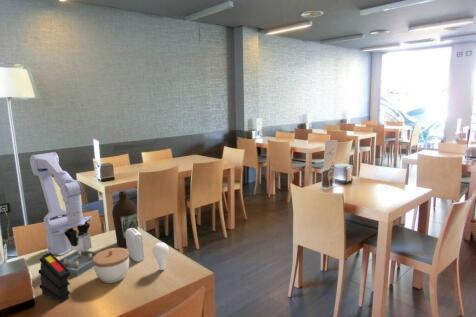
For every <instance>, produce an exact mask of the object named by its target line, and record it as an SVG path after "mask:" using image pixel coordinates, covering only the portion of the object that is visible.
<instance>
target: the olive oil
mask: <svg viewBox="0 0 476 317" xmlns="http://www.w3.org/2000/svg"><path fill="white" fill-rule="evenodd" d="M118 197H119V198H118V200H117V202H116V203H115V204H114V206H113V207H112V209H111V210H112V213H111V215H112V220H113V227H114V232H115V238H116V246H118V247H119V248H127V244H126V235H125V232H126V230H127V229H130V228H134V229H136V230H137V231H139V230H138V228H139V226H138V209H137V207H136V204H135V203H134V202H133V201H131V200H130V199H129V198H128V193H127V190H126V189H121V190H119V191H118Z"/></svg>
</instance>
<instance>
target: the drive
mask: <svg viewBox="0 0 476 317" xmlns="http://www.w3.org/2000/svg"><path fill="white" fill-rule="evenodd" d="M66 242H67V249H72V250H71V251H82V252H85V251H86V250H87V251H89V250H90V249H92V239H91V233H89V232H87V233H82V232H79V231H77V234H76V242H77V246H71V243H70V241H69V239H68V238H67V236H66Z"/></svg>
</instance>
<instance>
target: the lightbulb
mask: <svg viewBox="0 0 476 317" xmlns="http://www.w3.org/2000/svg"><path fill="white" fill-rule="evenodd" d="M169 252H170V249H169V246H168V244H166V243H165V242H157V243H156V244H155V245H154V246H153V247H152V255H153V257H154V258H155V260H156V262H157V266H158V270H160V271H163V270H165V269H166V263H167V257H168V255H169Z"/></svg>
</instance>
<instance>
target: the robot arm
mask: <svg viewBox="0 0 476 317" xmlns="http://www.w3.org/2000/svg"><path fill="white" fill-rule="evenodd" d="M29 164H30V168H31V171H32V173H33V176H37V177H38V179H39V182H40V186H41V189H42V192H43V196H44V199H45V203H46V206H47V207H46V208H47V210H48V212H47V214H45V216H44V218H43V225H44V226H43V227H44V231H45V232H46V233H47V234H46V235H45V236H46V237H45V239H46V246H47V250H46V251H45V253H46V254H48V253H52V254H53V255H57V256H63V255H66V254H68V253H69V252H72V251H73V250H72V249H67V242H66V236H67V238H68V239H69V241H70V243H71V246H77V242H76V234H77V232H82V233H88V231H89V229H90V226H91V225H90V223H89V222H91V221H93V216H92V215H87V216H84V215H83V214H84V213H83V207H82V201H81V200H82V199H81V195H82V193H83V187H82V184H81V182H80V180H76V179H74V178H73V177H72V176H71V175H70V173H68V171H66V170H63V168H61V166H60V158H59V156H58V153H56V152H55V151H52V152H45V153H39V154H32V155H30V157H29ZM52 175H53V176H52ZM54 182H55V183H54ZM55 184H56V185H57V186H58V187H59V189H60V190H59V191H60V194H61V197H62V202H64V206H65V207H64V208H65V209H62V206H61V204H60V200H59V197H58V193H57V190H56V187H55ZM75 228H77V230H75Z"/></svg>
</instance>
